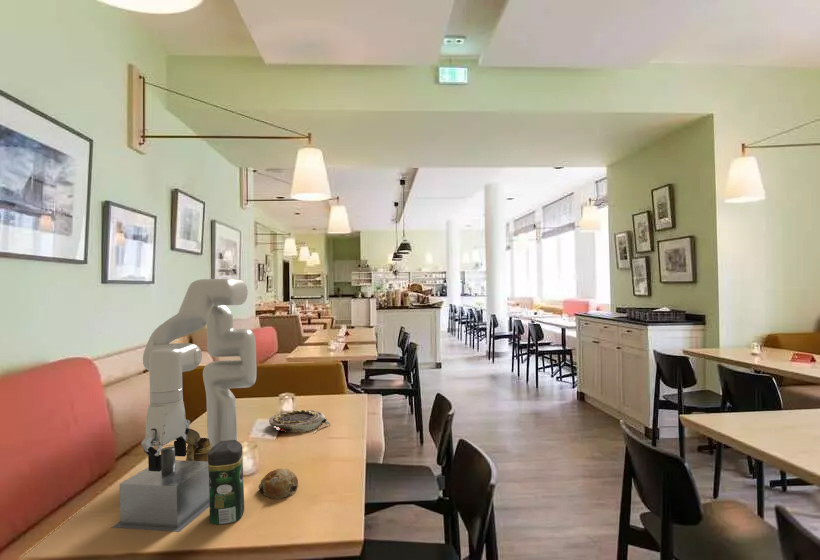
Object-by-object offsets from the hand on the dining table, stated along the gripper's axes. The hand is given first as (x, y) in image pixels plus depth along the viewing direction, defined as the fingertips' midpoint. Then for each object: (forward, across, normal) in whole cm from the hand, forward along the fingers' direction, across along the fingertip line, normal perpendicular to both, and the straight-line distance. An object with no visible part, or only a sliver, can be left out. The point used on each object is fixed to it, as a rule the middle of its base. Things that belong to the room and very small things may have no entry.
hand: (168, 463), depth 121 cm
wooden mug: (+13, -19, -5) cm, 24 cm away
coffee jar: (+13, 0, +16) cm, 21 cm away
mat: (+13, 0, 0) cm, 13 cm away
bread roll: (+13, -15, +23) cm, 30 cm away
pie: (+14, -73, +4) cm, 74 cm away
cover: (+12, 0, 0) cm, 12 cm away
